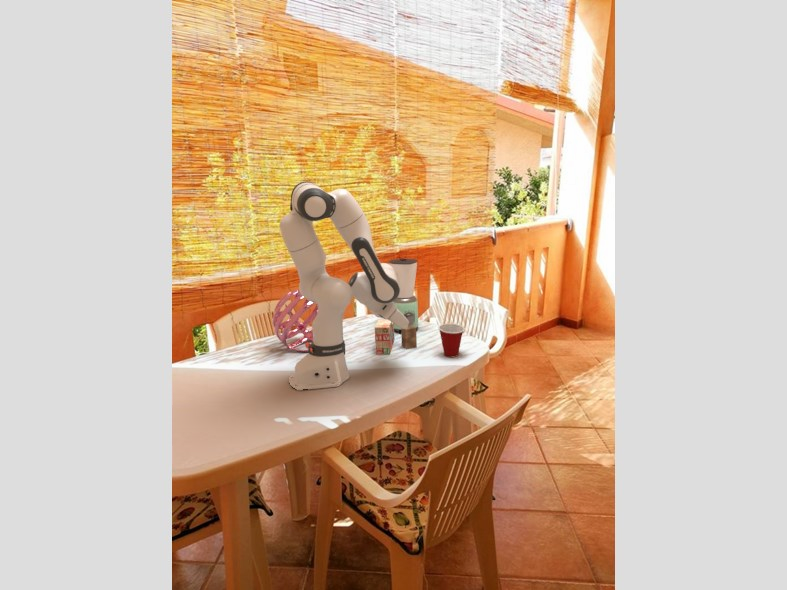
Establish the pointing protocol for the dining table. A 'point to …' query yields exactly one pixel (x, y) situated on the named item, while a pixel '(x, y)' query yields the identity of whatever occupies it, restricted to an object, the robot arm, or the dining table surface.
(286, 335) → the spiral basket
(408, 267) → the green blender
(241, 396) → the dining table surface
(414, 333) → the walnut block
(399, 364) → the dining table surface
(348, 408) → the dining table surface
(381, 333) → the stack of blocks
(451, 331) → the plastic cup
